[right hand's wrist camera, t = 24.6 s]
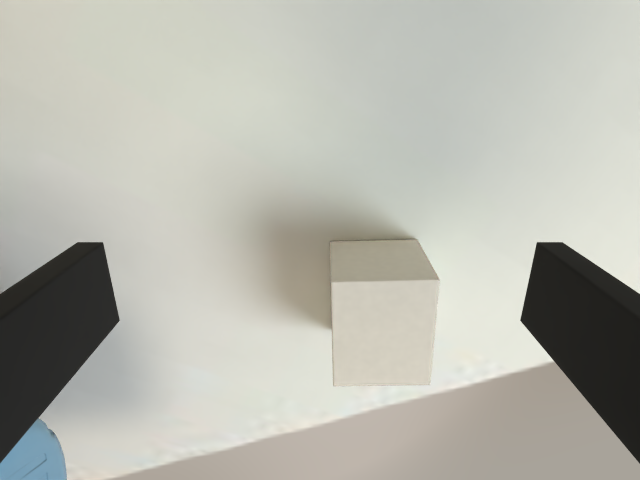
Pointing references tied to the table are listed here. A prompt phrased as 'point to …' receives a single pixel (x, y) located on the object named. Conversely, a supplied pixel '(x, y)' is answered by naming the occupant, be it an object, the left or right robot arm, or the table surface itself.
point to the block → (382, 312)
